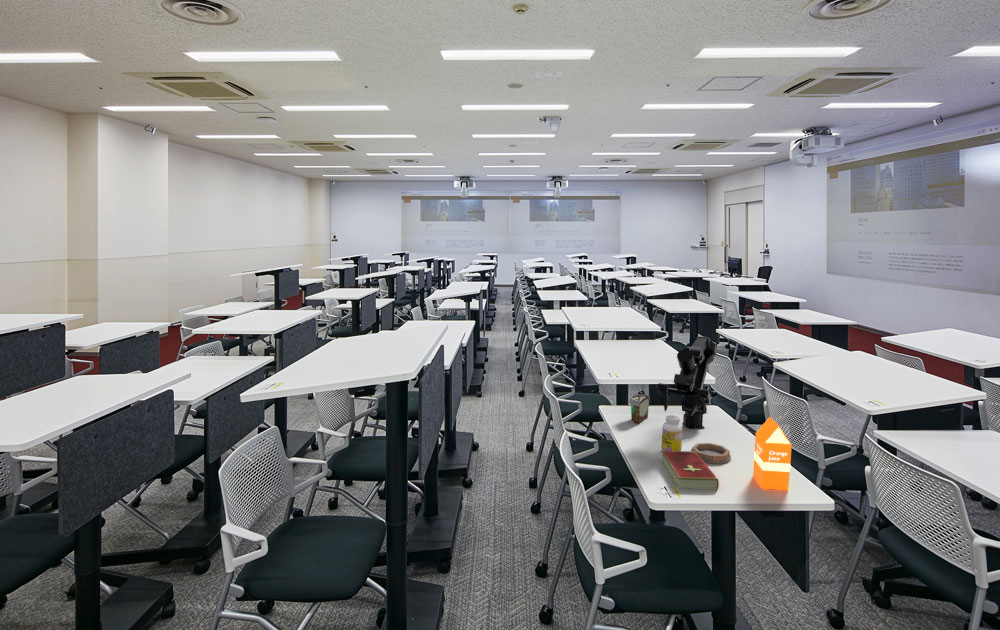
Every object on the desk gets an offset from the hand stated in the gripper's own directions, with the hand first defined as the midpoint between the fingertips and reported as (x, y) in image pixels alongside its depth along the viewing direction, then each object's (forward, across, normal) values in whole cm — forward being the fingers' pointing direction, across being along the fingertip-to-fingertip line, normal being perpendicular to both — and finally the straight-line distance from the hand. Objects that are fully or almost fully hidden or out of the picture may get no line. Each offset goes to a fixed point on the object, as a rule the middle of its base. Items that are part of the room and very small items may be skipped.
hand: (677, 413), depth 193 cm
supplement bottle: (+14, 0, +4) cm, 14 cm away
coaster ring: (+11, +12, +7) cm, 18 cm away
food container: (-6, -22, +24) cm, 33 cm away
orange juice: (+20, +32, -2) cm, 38 cm away
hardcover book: (+25, +10, -6) cm, 27 cm away
